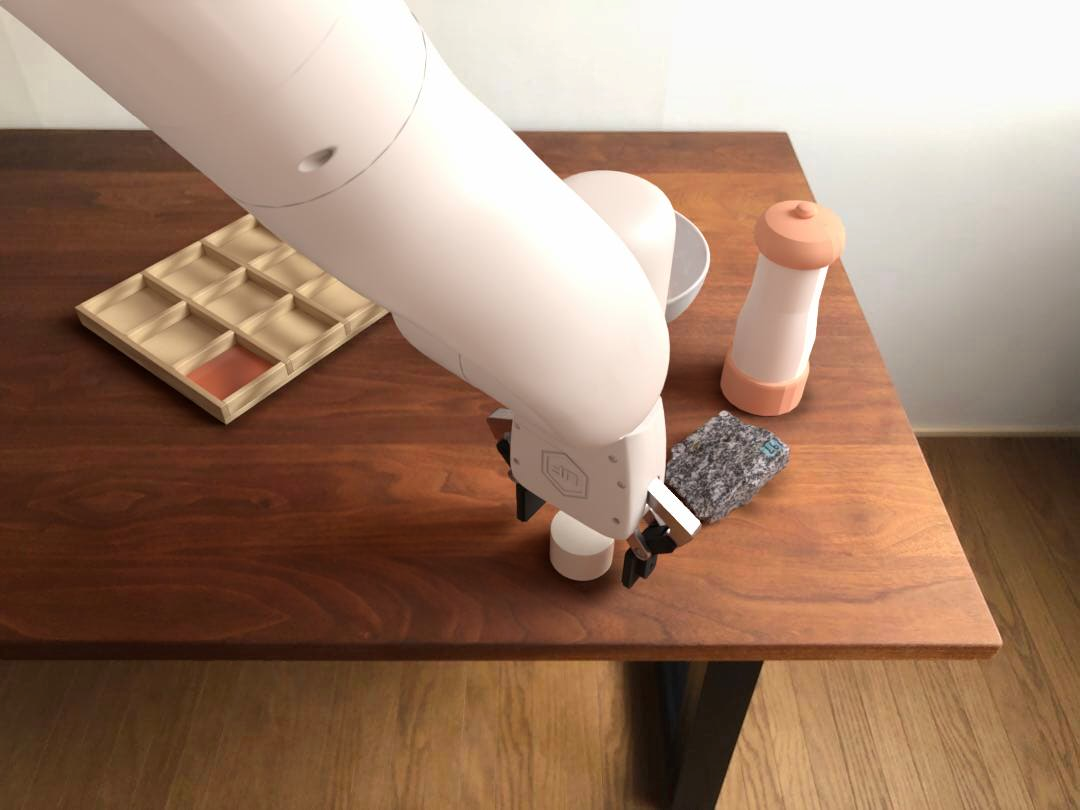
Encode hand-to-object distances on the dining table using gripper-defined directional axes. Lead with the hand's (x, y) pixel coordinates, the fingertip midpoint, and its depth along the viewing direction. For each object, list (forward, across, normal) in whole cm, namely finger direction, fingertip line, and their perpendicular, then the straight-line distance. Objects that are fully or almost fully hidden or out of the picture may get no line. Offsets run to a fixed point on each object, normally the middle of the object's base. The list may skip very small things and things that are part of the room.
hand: (583, 540), depth 67 cm
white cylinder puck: (+2, 0, 0) cm, 2 cm away
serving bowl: (+2, -17, +26) cm, 31 cm away
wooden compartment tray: (+2, -43, +3) cm, 43 cm away
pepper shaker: (+2, +2, +25) cm, 25 cm away
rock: (+2, +5, +13) cm, 14 cm away
